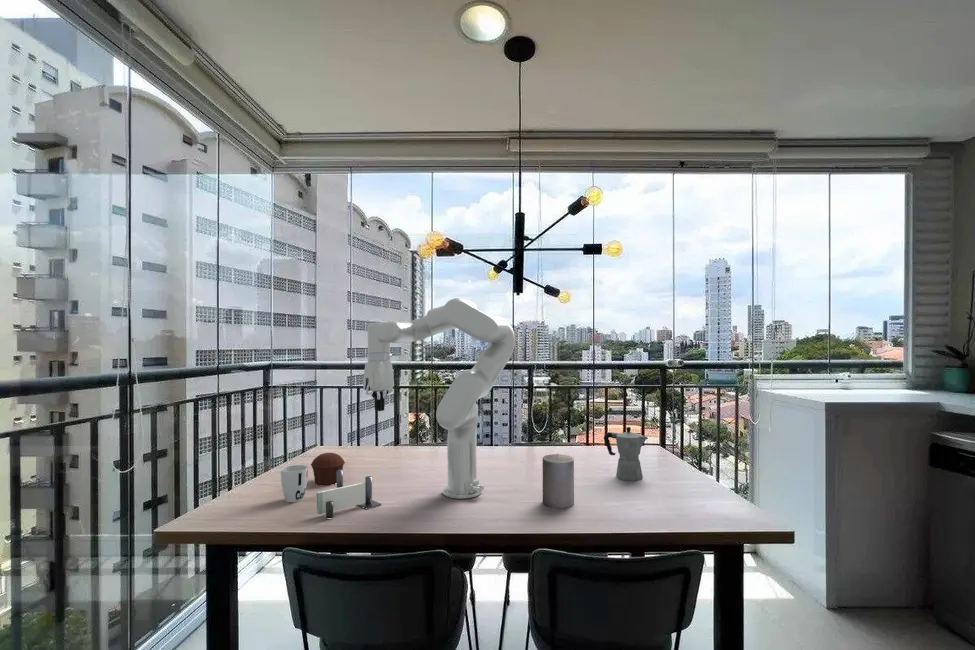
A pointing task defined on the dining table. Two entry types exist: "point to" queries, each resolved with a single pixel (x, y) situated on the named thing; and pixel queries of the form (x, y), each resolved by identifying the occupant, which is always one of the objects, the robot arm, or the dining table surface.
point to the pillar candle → (558, 481)
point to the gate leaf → (341, 497)
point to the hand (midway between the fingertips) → (379, 410)
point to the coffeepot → (627, 454)
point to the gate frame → (368, 494)
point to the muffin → (327, 468)
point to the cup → (294, 482)
